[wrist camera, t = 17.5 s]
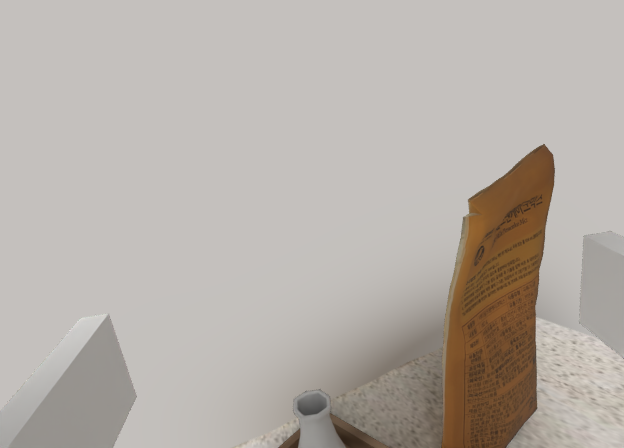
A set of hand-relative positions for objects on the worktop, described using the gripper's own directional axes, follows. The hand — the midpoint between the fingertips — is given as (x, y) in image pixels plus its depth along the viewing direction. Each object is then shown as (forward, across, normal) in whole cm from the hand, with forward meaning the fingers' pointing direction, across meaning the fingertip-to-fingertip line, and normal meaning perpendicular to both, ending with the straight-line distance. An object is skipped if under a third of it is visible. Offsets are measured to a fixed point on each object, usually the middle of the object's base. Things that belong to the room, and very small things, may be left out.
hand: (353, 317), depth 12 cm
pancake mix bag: (+24, +15, -31) cm, 42 cm away
